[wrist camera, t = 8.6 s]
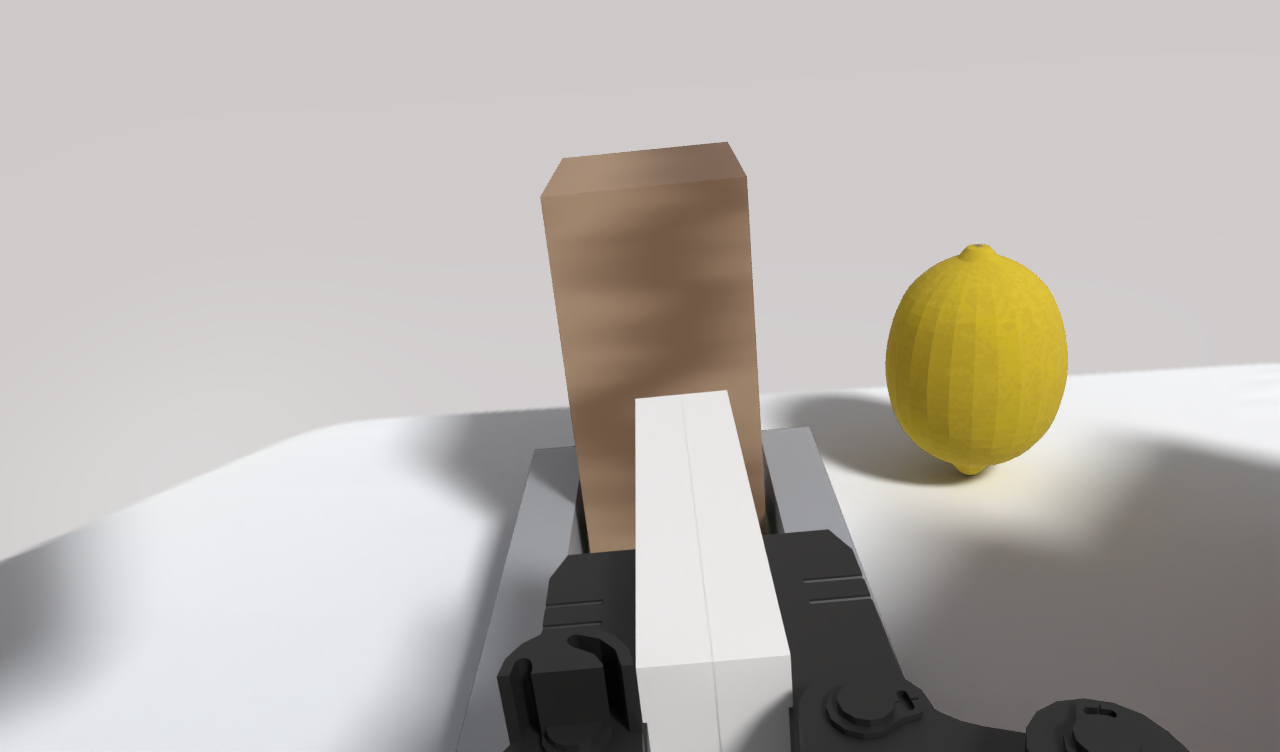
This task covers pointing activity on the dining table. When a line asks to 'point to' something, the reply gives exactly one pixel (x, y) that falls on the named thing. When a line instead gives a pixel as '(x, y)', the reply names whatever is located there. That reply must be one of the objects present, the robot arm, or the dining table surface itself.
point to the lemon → (976, 360)
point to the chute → (560, 530)
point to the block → (650, 308)
